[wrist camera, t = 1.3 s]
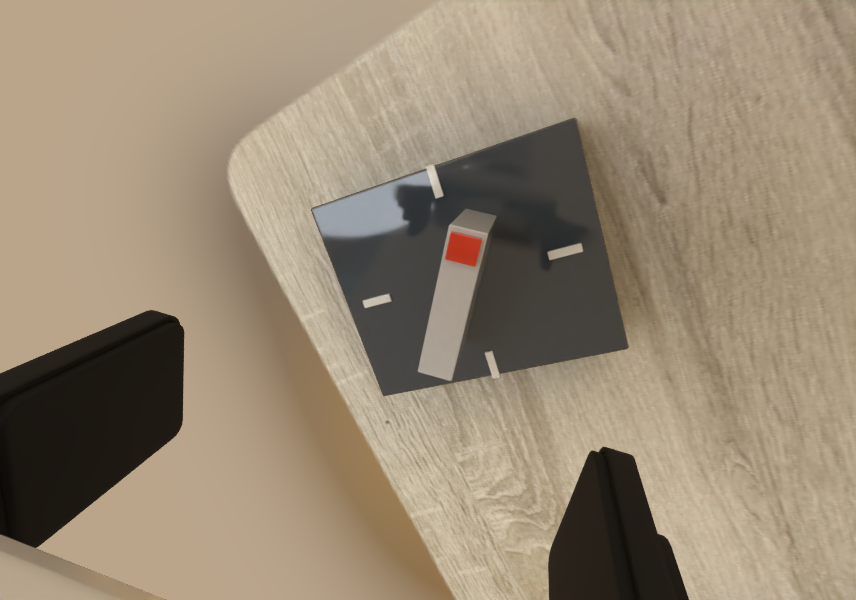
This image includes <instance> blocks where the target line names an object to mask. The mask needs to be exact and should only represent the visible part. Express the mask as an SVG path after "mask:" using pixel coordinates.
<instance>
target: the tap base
mask: <svg viewBox="0 0 856 600" xmlns="http://www.w3.org/2000/svg"><path fill="white" fill-rule="evenodd" d="M465 209H470V210H474V211H479V212H483V213H487V214H491V215H495V216H497V218H496V222H495V226H494V230H493V234H492V238H491V242H490V246H489V250H488V254H487V258H486V262H485V266H484V270H483V274H482V278H481V282H480V286H479V290H478V294H477V298H476V301H475V305H474V309H473V313H472V317H471V321H470V325H469V329H468V333H467V337H466V341H465V344H464V347H463V350H462V352H461V355H460V358H459V361H458V364H457V367H456V370H455V373H454V376H453V378H452V380H451V381H448V380H445V379H441V378H438V377H434V376H431V375H427V374H424V373H420V372H418V367H419V362H420V357H421V353H422V348H423V343H424V339H425V334H426V329H427V325H428V320H429V315H430V311H431V306H432V302H433V297H434V292H435V288H436V283H437V278H438V274H439V269H440V264H441V260H442V255H443V250H444V246H445V241H446V237H447V232H448V227H449V225H450V224H451V223H452V222H453V221H454V220H455V219H456V218H457V217H458V216H459V215H460V214H461V213H462V212H463V211H464V210H465ZM311 211H312V214H313V216H314V219H315V221H316V224H317V226H318V229H319V232H320V234H321V237H322V239H323V242H324V245H325V247H326V250H327V252H328V255H329V257H330V260H331V263H332V265H333V268H334V270H335V273H336V275H337V278H338V281H339V283H340V286H341V288H342V291H343V294H344V296H345V299H346V301H347V304H348V306H349V309H350V312H351V314H352V317H353V319H354V322H355V324H356V327H357V330H358V332H359V335H360V337H361V340H362V343H363V345H364V348H365V350H366V353H367V355H368V358H369V361H370V363H371V366H372V368H373V371H374V373H375V376H376V379H377V381H378V384H379V386H380V389H381V392H382V394H383V396H387V395H392V394H398V393H403V392H408V391H413V390H418V389H423V388H429V387H434V386H439V385H444V384H449V383H454V382H460V381H465V380H470V379H475V378H480V377H485V376H490V375H492V378H493V379H497V378H500V374H501V373H506V372H511V371H516V370H521V369H527V368H532V367H537V366H542V365H547V364H552V363H558V362H563V361H568V360H573V359H578V358H583V357H589V356H594V355H599V354H604V353H609V352H614V351H619V350H625V349H628V347H629V346H628V341H627V337H626V333H625V328H624V324H623V320H622V315H621V311H620V307H619V302H618V298H617V294H616V289H615V285H614V281H613V276H612V272H611V268H610V263H609V259H608V255H607V250H606V246H605V242H604V237H603V233H602V229H601V224H600V220H599V216H598V211H597V207H596V202H595V198H594V194H593V189H592V185H591V181H590V176H589V172H588V168H587V163H586V159H585V155H584V150H583V146H582V142H581V137H580V133H579V129H578V124H577V120H576V118H572V119H569V120H566V121H563V122H560V123H557V124H554V125H552V126H549V127H546V128H543V129H540V130H537V131H534V132H531V133H528V134H525V135H523V136H520V137H517V138H514V139H511V140H508V141H505V142H502V143H499V144H496V145H493V146H491V147H488V148H485V149H482V150H479V151H476V152H473V153H470V154H467V155H464V156H462V157H459V158H456V159H453V160H450V161H447V162H444V163H441V164H438V165H434V163H433V164H430V165H428V166H426V169H424V170H421V171H418V172H415V173H412V174H409V175H406V176H403V177H401V178H398V179H395V180H392V181H389V182H386V183H383V184H380V185H377V186H374V187H371V188H369V189H366V190H363V191H360V192H357V193H354V194H351V195H348V196H345V197H342V198H340V199H337V200H334V201H331V202H328V203H325V204H322V205H319V206H316V207H313V208H312V209H311Z"/></svg>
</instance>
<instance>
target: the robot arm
mask: <svg viewBox="0 0 856 600" xmlns="http://www.w3.org/2000/svg"><path fill="white" fill-rule="evenodd" d="M183 368H184V329H183V327H182V326H181V325H180V322H179V320H178V319H177V318H176V317H174V316H171V315H167V314H164V313H161V312H158V311H153V310H150V311H146V312H143V313H141V314H139V315H136V316H134V317H132V318H129V319H127V320H125V321H122V322H120V323H118V324H115V325H113V326H111V327H108V328H106V329H103V330H102V331H99V332H97V333H94V334H92V335H89V336H87V337H85V338H82V339H80V340H78V341H75V342H73V343H71V344H69V345H66V346H64V347H61V348H59V349H57V350H54V351H52V352H50V353H47V354H45V355H43V356H40V357H38V358H35V359H33V360H31V361H28V362H26V363H24V364H21V365H19V366H17V367H14V368H12V369H10V370H7V371H5V372H3V373H0V600H165V599H163V598H160V597H158V596H155V595H153V594H150V593H148V592H145V591H143V590H140V589H137V588H135V587H133V586H130V585H128V584H125V583H123V582H120V581H117V580H115V579H112V578H110V577H107V576H105V575H102V574H100V573H97V572H95V571H92V570H90V569H87V568H85V567H82V566H79V565H77V564H74V563H72V562H69V561H66V560H64V559H62V558H59V557H57V556H54V555H51V554H49V553H46V552H43V551H41V550H39V549H36V548H37V547H38V546H40V545H41V544H42V543H44V542H45V541H46V540H47V539H48V538H50V537H51V536H52V535H53V534H55V533H56V532H57V531H58V530H59V529H61V528H62V527H63V526H65V525H66V524H67V523H68V522H70V521H71V520H72V519H73V518H75V517H76V516H77V515H78V514H79V513H80V512H82V511H83V510H85V508H87V507H88V506H89V505H91V504H92V503H93V502H94V501H96V500H97V499H98V498H99V497H100V496H102V495H103V494H104V493H106V492H107V491H108V490H109V489H111V488H112V487H113V486H114V485H116V484H117V483H118V482H119V481H121V480H122V479H123V478H124V477H126V476H127V475H128V474H129V473H130V472H131V471H133V470H134V469H135V468H137V467H138V466H139V465H140V464H142V463H143V462H144V461H145V460H146V459H147V458H149V457H150V456H152V455H153V454H154V453H155V452H156V451H158V450H159V449H160V448H161V447H163V446H164V445H165V444H167V442H169V441H170V440H171V439H173V438H174V437H175V436H176V435H177V433H178V432H179V430H180V428H181V426H182V421H183V371H184V369H183ZM548 571H549V600H689V599H688V596H687V592H686V589H685V586H684V583H683V580H682V577H681V574H680V571H679V568H678V565H677V562H676V559H675V556H674V553H673V550H672V547H671V545H670V543H669V541H668V539H667V538H665V537H664V536H663V535H660V534H657V530H656V527H655V524H654V521H653V517H652V514H651V511H650V508H649V504H648V501H647V498H646V495H645V491H644V488H643V485H642V482H641V478H640V475H639V472H638V469H637V465H636V462H635V459H634V457H633V456H632V455H630V454H627V453H623V452H620V451H617V450H614V449H610V448H607V447H602V448H601V450H600V451H599V452H595V451H591V452H590V453H589V455H588V457H587V459H586V462H585V464H584V467H583V469H582V472H581V474H580V477H579V479H578V482H577V484H576V487H575V489H574V492H573V494H572V497H571V499H570V502H569V504H568V507H567V509H566V512H565V514H564V517H563V519H562V522H561V524H560V527H559V529H558V532H557V534H556V537H555V539H554V542H553V544H552V547H551V550H550V555H549V562H548Z"/></svg>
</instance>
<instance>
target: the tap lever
mask: <svg viewBox="0 0 856 600" xmlns="http://www.w3.org/2000/svg"><path fill="white" fill-rule="evenodd" d="M496 218H497V216H495V215H491V214H487V213H483V212H479V211H474V210H470V209H465V210H464V211H463V212H462V213H461V214H460V215H459V216H458V217H457V218H456V219H455V220H454V221H453V222H452V223H451V224H450V225H449V227H448V232H447V237H446V241H445V246H444V250H443V255H442V260H441V264H440V269H439V274H438V278H437V283H436V288H435V292H434V297H433V302H432V306H431V311H430V315H429V320H428V325H427V329H426V334H425V339H424V343H423V348H422V353H421V357H420V362H419V367H418V372H420V373H424V374H427V375H431V376H434V377H438V378H441V379H445V380H448V381H451V380H452V378H453V376H454V373H455V370H456V367H457V364H458V361H459V358H460V355H461V352H462V350H463V347H464V344H465V341H466V337H467V333H468V329H469V325H470V321H471V317H472V313H473V309H474V305H475V301H476V298H477V294H478V290H479V286H480V282H481V278H482V274H483V270H484V266H485V262H486V258H487V254H488V250H489V246H490V242H491V238H492V234H493V230H494V226H495V222H496Z"/></svg>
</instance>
